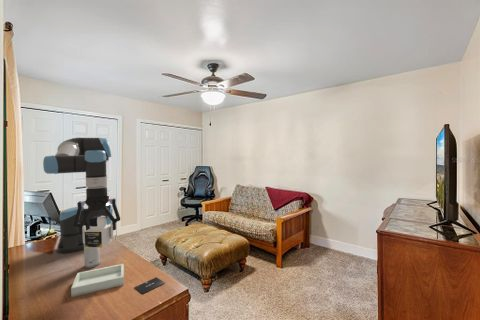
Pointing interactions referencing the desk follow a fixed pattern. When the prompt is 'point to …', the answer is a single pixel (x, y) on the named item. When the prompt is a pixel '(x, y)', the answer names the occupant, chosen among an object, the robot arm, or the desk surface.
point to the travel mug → (91, 256)
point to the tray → (98, 280)
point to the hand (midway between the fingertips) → (98, 239)
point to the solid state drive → (149, 285)
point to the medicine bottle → (97, 233)
